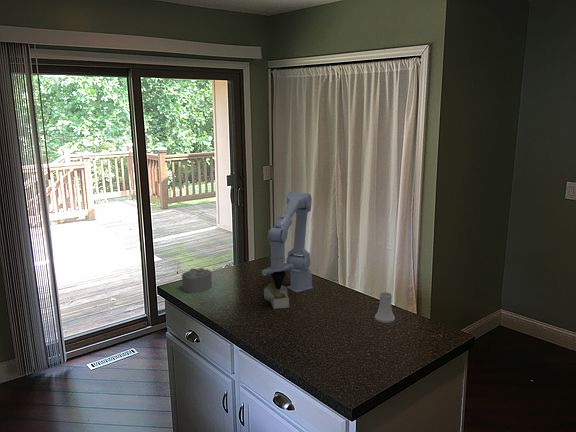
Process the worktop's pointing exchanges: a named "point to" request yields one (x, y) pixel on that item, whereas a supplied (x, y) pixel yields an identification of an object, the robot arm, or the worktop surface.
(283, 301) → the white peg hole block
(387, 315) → the vase
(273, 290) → the key peg
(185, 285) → the lumpy-topped squat cylinder
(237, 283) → the worktop surface
